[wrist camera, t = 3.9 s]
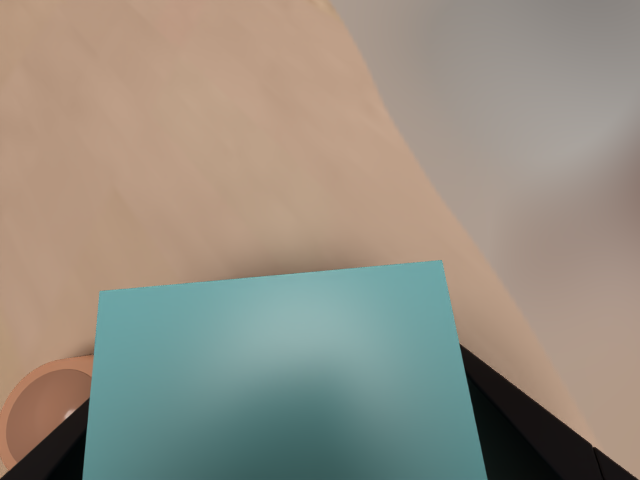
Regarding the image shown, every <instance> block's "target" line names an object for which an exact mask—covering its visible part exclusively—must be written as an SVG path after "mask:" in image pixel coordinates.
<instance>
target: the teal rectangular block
mask: <svg viewBox="0 0 640 480" xmlns="http://www.w3.org/2000/svg"><path fill="white" fill-rule="evenodd" d="M82 480H487V475H486V470H485V465H484V460H483V456H482V451H481V446H480V441H479V436H478V432H477V427H476V422H475V417H474V412H473V408H472V403H471V398H470V393H469V388H468V384H467V379H466V374H465V369H464V364H463V359H462V355H461V350H460V345H459V340H458V335H457V331H456V326H455V321H454V316H453V311H452V307H451V302H450V297H449V292H448V287H447V283H446V278H445V273H444V268H443V263H442V260H438V261H427V262H416V263H405V264H394V265H383V266H372V267H361V268H350V269H339V270H328V271H317V272H306V273H295V274H284V275H273V276H262V277H251V278H240V279H229V280H218V281H207V282H196V283H185V284H174V285H163V286H152V287H141V288H130V289H119V290H108V291H100V293H99V304H98V315H97V326H96V337H95V348H94V359H93V370H92V381H91V391H90V402H89V413H88V424H87V435H86V446H85V457H84V468H83V479H82Z"/></svg>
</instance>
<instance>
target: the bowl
mask: <svg viewBox="0 0 640 480" xmlns="http://www.w3.org/2000/svg"><path fill="white" fill-rule="evenodd" d="M93 359H94V355H87V356H80V357H73V358H66V359H60V360H55V361H52V362H49V363H46V364H44V365H42V366H40V367H38V368H37V369H35V370H33V371H32V372H31V373H29V374H28V375H27V376H26V377H24V378H23V379H22V380H21V381H20V382H19V383H18V384H17V385H16V387H15V388H14V389H13V391H12V392H11V393H10V395H9V396H8V398H7V400H6V401H5V404H4V406H3V408H2V410H1V413H0V457H1V459H2V461H3V463H4V465H5V466H6V468H7V469H8V470H10V469H11V468H13V467H14V466H15V465H16V464H17V463H18V462H19V461H20V460H21V459H22V458H24V457H25V456H26V455H27V454H28V453H29V452H30V451H31V450H32V449H33V448H34V447H36V446H37V445H38V444H39V443H40V442H41V441H42V440H43V439H44V438H45V437H47V436H48V435H49V434H50V433H51V432H52V431H53V430H54V429H55V428H56V427H57V426H59V425H60V424H61V423H62V422H63V421H64V420H65V419H66V418H67V417H68V416H70V415H71V414H72V413H73V412H74V411H75V410H76V409H77V408H78V407H79V406H80V405H82V404H83V403H84V402H85V401H86V400H87V399H88V398H89V397H90V391H91V381H92V370H93Z"/></svg>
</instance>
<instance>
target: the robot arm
mask: <svg viewBox="0 0 640 480" xmlns="http://www.w3.org/2000/svg"><path fill="white" fill-rule="evenodd" d="M459 345H460V350H461V355H462V359H463V364H464V369H465V374H466V379H467V384H468V388H469V393H470V398H471V403H472V408H473V412H474V417H475V422H476V427H477V432H478V436H479V441H480V446H481V451H482V456H483V460H484V465H485V470H486V475H487V480H638V479H637V478H636V477H634V476H633V475H632V474H630V473H629V472H628V471H626V470H625V469H624V468H622V467H621V466H620V465H618V464H617V463H615V462H614V461H613V460H612V459H610V458H609V457H608V456H606V455H605V454H604V453H602V452H601V451H600V450H598V449H597V448H596V447H593V446H592V445H591V444H590V443H589V442H588V441H586V440H585V439H584V438H583V437H581V436H580V435H579V434H577V433H576V432H575V431H573V430H572V429H571V428H569V427H568V426H567V425H566V424H564V423H563V422H562V421H560V420H559V419H558V418H556V417H555V416H554V415H552V414H551V413H550V412H549V411H547V410H546V409H545V408H543V407H542V406H541V405H539V404H538V403H537V402H535V401H534V400H533V399H531V398H530V397H529V396H528V395H526V394H525V393H524V392H522V391H521V390H520V389H518V388H517V387H516V386H514V385H513V384H512V383H511V382H509V381H508V380H507V379H505V378H504V377H503V376H501V375H500V374H499V373H497V372H496V371H495V370H494V369H492V368H491V367H490V366H488V365H487V364H486V363H484V362H483V361H482V360H480V359H479V358H478V357H476V356H475V355H474V354H473V353H471V352H470V351H469V350H467V349H466V348H465V347H463V346H462V345H461V344H459ZM89 402H90V397H89V398H88V399H87V400H86V401H85V402H84V403H83V404H82V405H80V406H79V407H78V408H77V409H76V410H75V411H74V412H73V413H72V414H71V415H70V416H68V417H67V418H66V419H65V420H64V421H63V422H62V423H61V424H60V425H59V426H57V427H56V428H55V429H54V430H53V431H52V432H51V433H50V434H49V435H48V436H47V437H45V438H44V439H43V440H42V441H41V442H40V443H39V444H38V445H37V446H36V447H34V448H33V449H32V450H31V451H30V452H29V453H28V454H27V455H26V456H25V457H24V458H22V459H21V460H20V461H19V462H18V463H17V464H16V465H15V466H14V467H13V468H11V469H10V470H9V471H8V472H7V473H6V474H5V475H4V476H3V477H2V478H1V479H0V480H82V479H83V468H84V457H85V446H86V435H87V424H88V413H89Z"/></svg>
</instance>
